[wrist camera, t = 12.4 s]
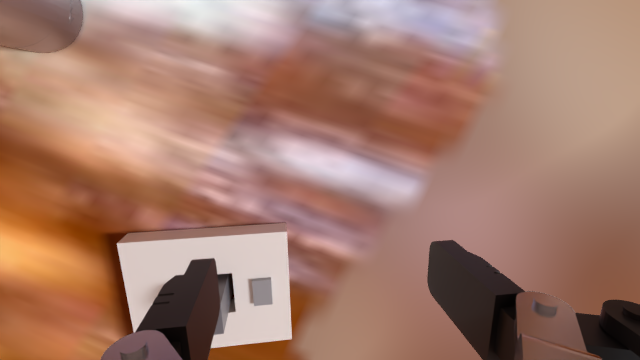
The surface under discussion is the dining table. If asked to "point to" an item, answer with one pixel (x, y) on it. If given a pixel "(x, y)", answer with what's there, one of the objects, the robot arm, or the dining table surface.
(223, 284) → the gray knobbed square peg
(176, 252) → the socket plate
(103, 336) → the dining table surface
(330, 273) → the dining table surface
